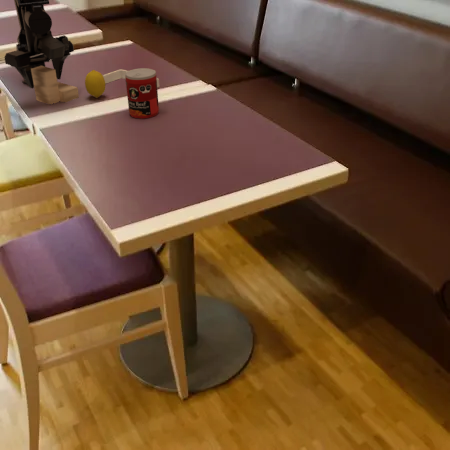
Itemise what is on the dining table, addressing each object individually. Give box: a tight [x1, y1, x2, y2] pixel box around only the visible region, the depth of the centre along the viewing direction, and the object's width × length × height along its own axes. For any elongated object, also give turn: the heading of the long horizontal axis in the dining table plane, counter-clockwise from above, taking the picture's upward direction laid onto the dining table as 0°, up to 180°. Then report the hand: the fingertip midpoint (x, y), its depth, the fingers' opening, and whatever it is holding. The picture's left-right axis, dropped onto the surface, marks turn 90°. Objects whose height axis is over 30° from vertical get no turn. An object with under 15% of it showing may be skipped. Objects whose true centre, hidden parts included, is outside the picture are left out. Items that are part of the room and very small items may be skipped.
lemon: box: [84, 69, 106, 99], centre depth 171 cm, size 6×6×8 cm
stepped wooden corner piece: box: [31, 66, 80, 105], centre depth 171 cm, size 10×8×9 cm
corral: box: [102, 68, 160, 89], centre depth 180 cm, size 16×12×2 cm
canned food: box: [125, 67, 160, 120], centre depth 159 cm, size 8×8×11 cm
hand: (45, 83), depth 169 cm, fingers open, 9 cm apart
